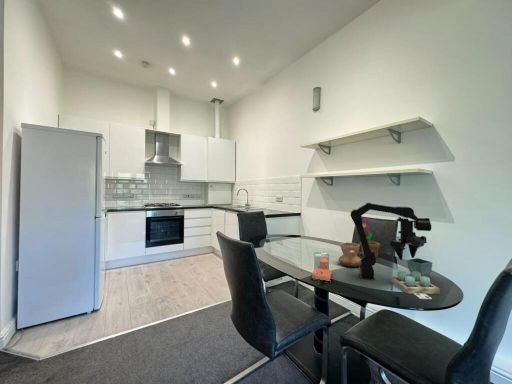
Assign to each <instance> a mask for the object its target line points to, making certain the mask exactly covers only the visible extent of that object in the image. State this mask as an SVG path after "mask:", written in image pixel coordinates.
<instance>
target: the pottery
mask: <svg viewBox="0 0 512 384" xmlns="http://www.w3.org/2000/svg"><path fill="white" fill-rule="evenodd" d="M328 262H329V260H328V259H327V258H326V257H325V256H322V257H321V258H320V259H319V267H318V268H313V269H314V270H312V273H311V278H315V279H320V280H326V281H330V282H331V280H332V270H331V269H330V267H329V263H328ZM316 273H318V274H316ZM330 279H331V280H330Z"/></svg>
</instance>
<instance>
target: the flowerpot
mask: <svg viewBox="0 0 512 384" xmlns="http://www.w3.org/2000/svg"><path fill="white" fill-rule="evenodd" d="M368 224H369V219H366V220H365V217H364V216H362V225H363V228H364V231H365V235H366V238H367V241H368V244H369V247H370V249H371V250H374V252H375V256H376V257H377V258H378V257H379V248H381V242H380V243H379V242H377V241H374V240H373V241H372V240H371V238H372V237H373V234H372V232H370V230H371V228H370V227H371V226H369V225H368ZM367 234H368V236H367ZM358 245H360V246H359V247H360V248H361V255H362V257H363V256H364V254H363V247H362V244H361V241H359V243H358Z"/></svg>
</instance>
